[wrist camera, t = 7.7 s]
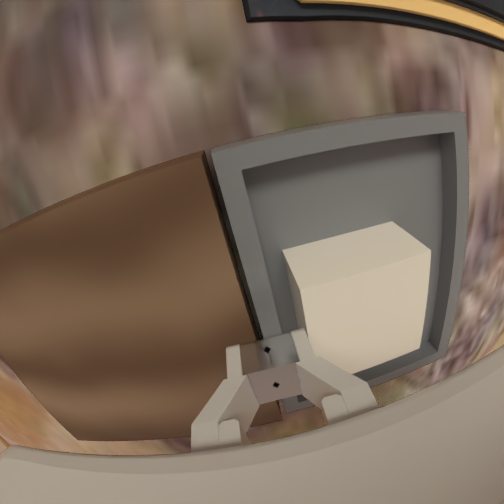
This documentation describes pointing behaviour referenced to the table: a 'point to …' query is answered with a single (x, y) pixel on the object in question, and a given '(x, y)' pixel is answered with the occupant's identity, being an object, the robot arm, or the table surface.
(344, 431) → the robot arm
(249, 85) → the table surface
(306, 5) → the wallet
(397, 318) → the cream rectangular block
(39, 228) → the ramp
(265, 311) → the box
